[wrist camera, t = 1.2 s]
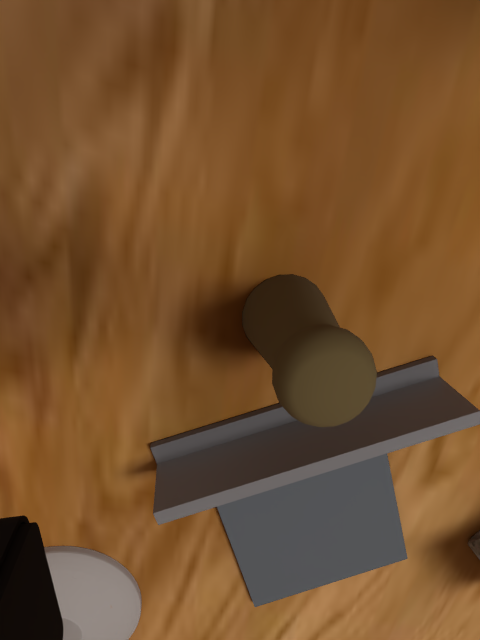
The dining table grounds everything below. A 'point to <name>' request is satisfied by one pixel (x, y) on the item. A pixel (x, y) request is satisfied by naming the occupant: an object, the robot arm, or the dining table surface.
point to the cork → (308, 352)
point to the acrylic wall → (302, 442)
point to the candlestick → (93, 594)
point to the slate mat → (316, 530)
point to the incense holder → (475, 544)
